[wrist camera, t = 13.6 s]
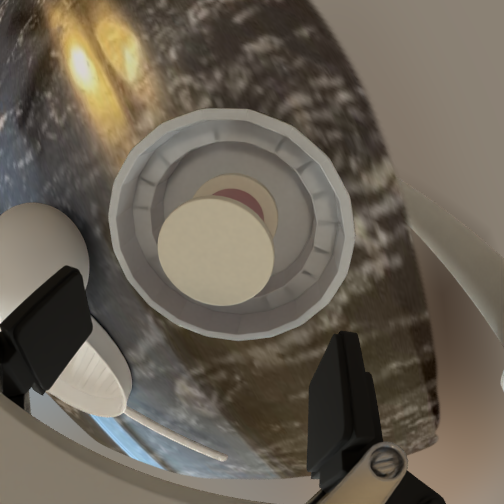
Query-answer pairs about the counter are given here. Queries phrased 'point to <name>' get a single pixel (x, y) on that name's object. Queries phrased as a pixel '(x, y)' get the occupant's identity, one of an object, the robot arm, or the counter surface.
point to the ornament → (36, 251)
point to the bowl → (288, 204)
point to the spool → (221, 241)
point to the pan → (108, 386)
